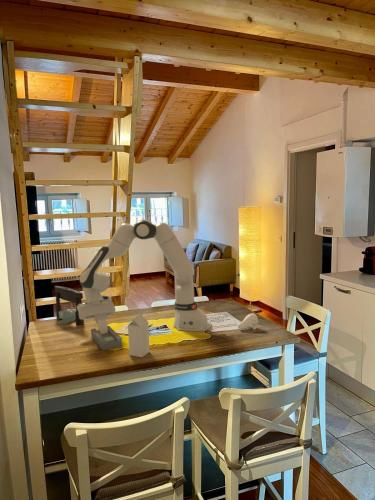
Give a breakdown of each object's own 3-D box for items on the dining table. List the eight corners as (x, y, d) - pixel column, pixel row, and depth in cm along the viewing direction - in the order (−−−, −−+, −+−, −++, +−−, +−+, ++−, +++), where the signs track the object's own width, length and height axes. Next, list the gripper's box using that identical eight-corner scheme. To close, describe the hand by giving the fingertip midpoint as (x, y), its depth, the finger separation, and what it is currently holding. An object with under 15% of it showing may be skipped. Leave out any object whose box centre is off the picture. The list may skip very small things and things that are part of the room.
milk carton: (149, 352, 174) (148, 314, 171) (141, 357, 167) (140, 318, 165) (137, 349, 177) (135, 312, 174) (129, 355, 170) (127, 317, 168)
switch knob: (97, 332, 194) (96, 315, 193) (106, 330, 196) (105, 314, 195) (100, 334, 190) (99, 317, 189) (108, 332, 192) (107, 316, 191)
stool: (65, 282, 240) (93, 289, 218) (67, 313, 242) (95, 322, 221) (43, 287, 228) (70, 294, 206) (45, 318, 231) (72, 329, 209)
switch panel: (91, 336, 196) (90, 329, 196) (109, 333, 201) (108, 325, 200) (102, 350, 177) (102, 341, 177) (122, 346, 182) (121, 337, 181)
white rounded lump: (258, 314, 200) (240, 319, 196) (260, 328, 201) (241, 334, 197) (252, 311, 206) (234, 316, 202) (254, 325, 207) (236, 330, 203)
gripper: (76, 301, 197) (81, 323, 190) (112, 296, 207) (118, 316, 200) (75, 307, 201) (80, 329, 194) (110, 301, 211) (116, 322, 204)
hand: (100, 322), depth 197 cm, fingers closed
